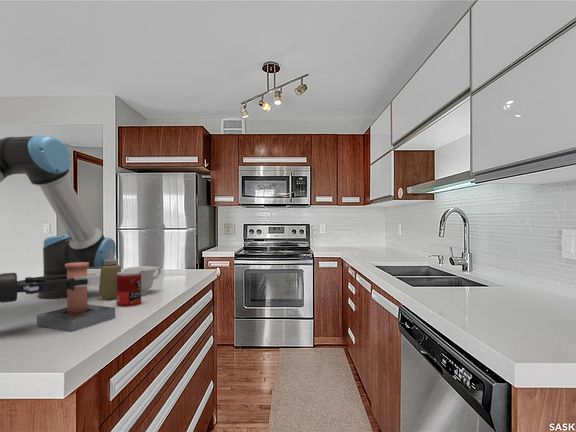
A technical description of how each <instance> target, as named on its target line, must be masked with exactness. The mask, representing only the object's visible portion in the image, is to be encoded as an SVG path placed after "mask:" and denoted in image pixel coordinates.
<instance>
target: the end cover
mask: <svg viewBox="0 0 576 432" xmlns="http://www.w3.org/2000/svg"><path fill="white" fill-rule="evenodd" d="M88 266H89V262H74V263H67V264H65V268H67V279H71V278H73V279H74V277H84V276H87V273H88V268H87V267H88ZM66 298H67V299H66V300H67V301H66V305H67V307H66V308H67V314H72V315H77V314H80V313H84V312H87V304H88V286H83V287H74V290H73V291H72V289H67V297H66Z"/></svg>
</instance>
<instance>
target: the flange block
mask: <svg viewBox="0 0 576 432" xmlns="http://www.w3.org/2000/svg"><path fill="white" fill-rule="evenodd" d="M113 319H116V307H111V306H102V305H96V304H95V305H94V304H88V303H87V312H84V313H80V314H77V315H72V314H67V307H64V308H59V309H55V310H51V311H48V312H42V313H39V314H36V327H42V328H43V327H44V328H50V329H54V330H55V329H56V330H61V331H67V332H74V331H75V332H76V331H77V330H80V329H81V330H82V329H85V328H89V327H90V326H93V325H98V324H99V323H103V322H106V321H109V320H113Z"/></svg>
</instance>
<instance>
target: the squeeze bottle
mask: <svg viewBox="0 0 576 432" xmlns="http://www.w3.org/2000/svg"><path fill="white" fill-rule="evenodd" d="M118 272H122V267H121V265H120V264H119V259H117V258H115V257H114V253H113V250H109V253H108V257H107V260H104V266H102V267H101V268H100V274H99V275H100V285H98V291H99V294H100V298H101V299H102V300H107V301H111V300H117V273H118Z"/></svg>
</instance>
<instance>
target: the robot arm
mask: <svg viewBox="0 0 576 432" xmlns="http://www.w3.org/2000/svg"><path fill="white" fill-rule="evenodd" d="M71 158H72V157H71V152H70V150H69V148H68V147H67V145H66V144H65V143H64V142H63V141H62V140H61V139H59V138H57V137H54V136H50V135H41V134H38V135H34V136H33V135H32V136H29V135H28V136H27V135H26V136H7V137H3V138H0V183H2V182H3V181H4V180H5V179H6V178H8V177H10V176H13V175H26V177H27V178H28V179H29V181H30V183H31V184H32V185H34V186H37V187H39V189H41V191H42V192H43V194H44V196H45V198H46V200H47V201H48V203H49V204H50V206H51V208H52V210H53V211H54V213H55V215H56V216H57V219H58V220H59V222H60V223H61V226H63V228H64V230H65V232H66V233H67V234H63V235H61V234H60V235H54V236H49V237H46V238H45V239H44V240H43V247H42V254H43V255H42V257H43V258H42V260H43V262H42V264H43V276H37V277H36V276H35V277H32V276H29V277H25V279H22V280H18V276H17V273H16V272H5V273H0V303H1V304H3V303H12V302H16V301H17V300H18V293H25V294H26V295H34V294H38V295H37V297H38V298H39V299H60V298H67V289H72V291H73V290H74V287H83V286H87V287H90V286H91V287H92V286H99V285H100V274H97V273H96V272H87V276H84V277H74V279H73V278H71V279H67V268H65V264H67V263H74V262H89V266H88V267H87V269H96V270H97V269H101V267H102V266H104V260H107V257H108V253H109V250H113V253H114V257H115V256H116V252H117V248H116V247H117V245H116V242H115V240H114V239H113V238H111V237H105V236H104V234H103V232H102V230H101V229H100V228H98V227H95V226H94V224H93V223H92V221H91V218H90V217H89V215H88V213H87V210H86V209H85V207H84V205H83V203H82V201H81V199H80V198H79V196H78V194H77V192H76V191H75V189H74V186H73V185H72V182H71V181H70V178H69V177H68V175H69V173H70V167H71V165H72V164H71V163H72V160H71Z"/></svg>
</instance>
